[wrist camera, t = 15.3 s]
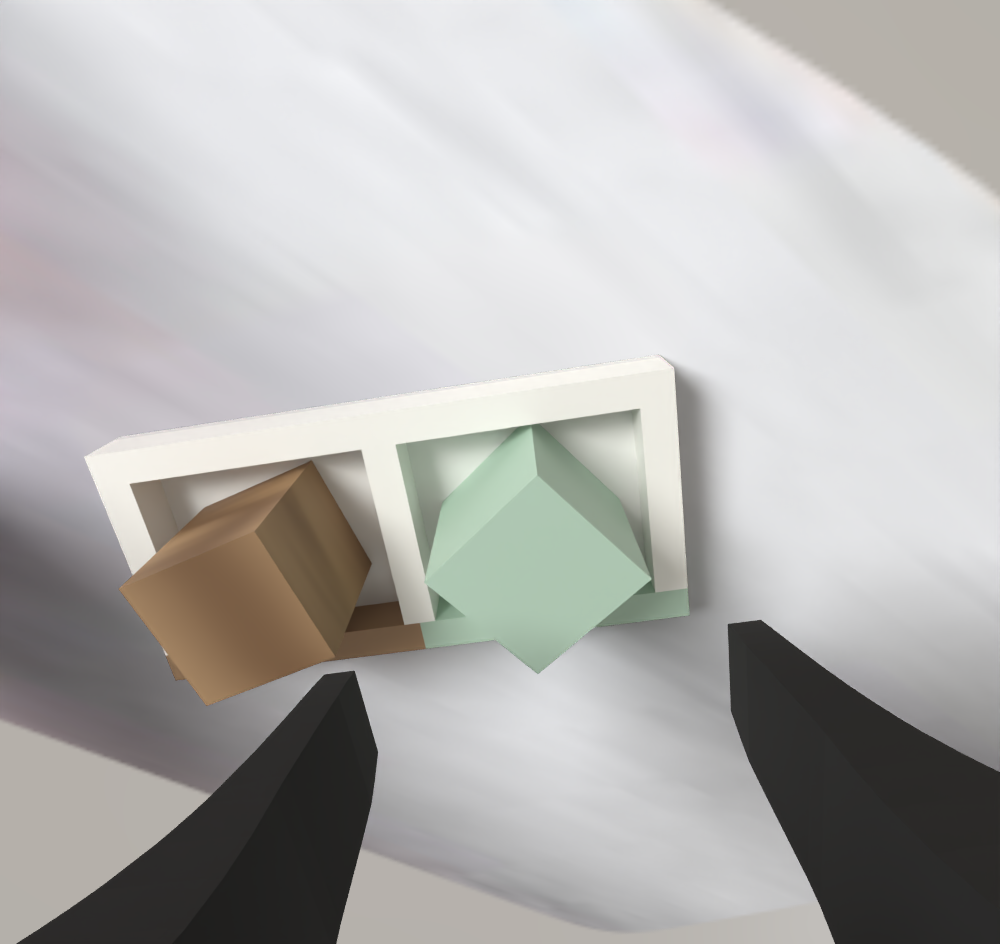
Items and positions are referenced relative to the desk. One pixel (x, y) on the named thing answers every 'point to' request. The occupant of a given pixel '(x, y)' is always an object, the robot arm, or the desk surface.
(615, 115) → the desk surface
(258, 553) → the walnut block
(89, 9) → the desk surface
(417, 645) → the slot board
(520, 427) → the sage block
